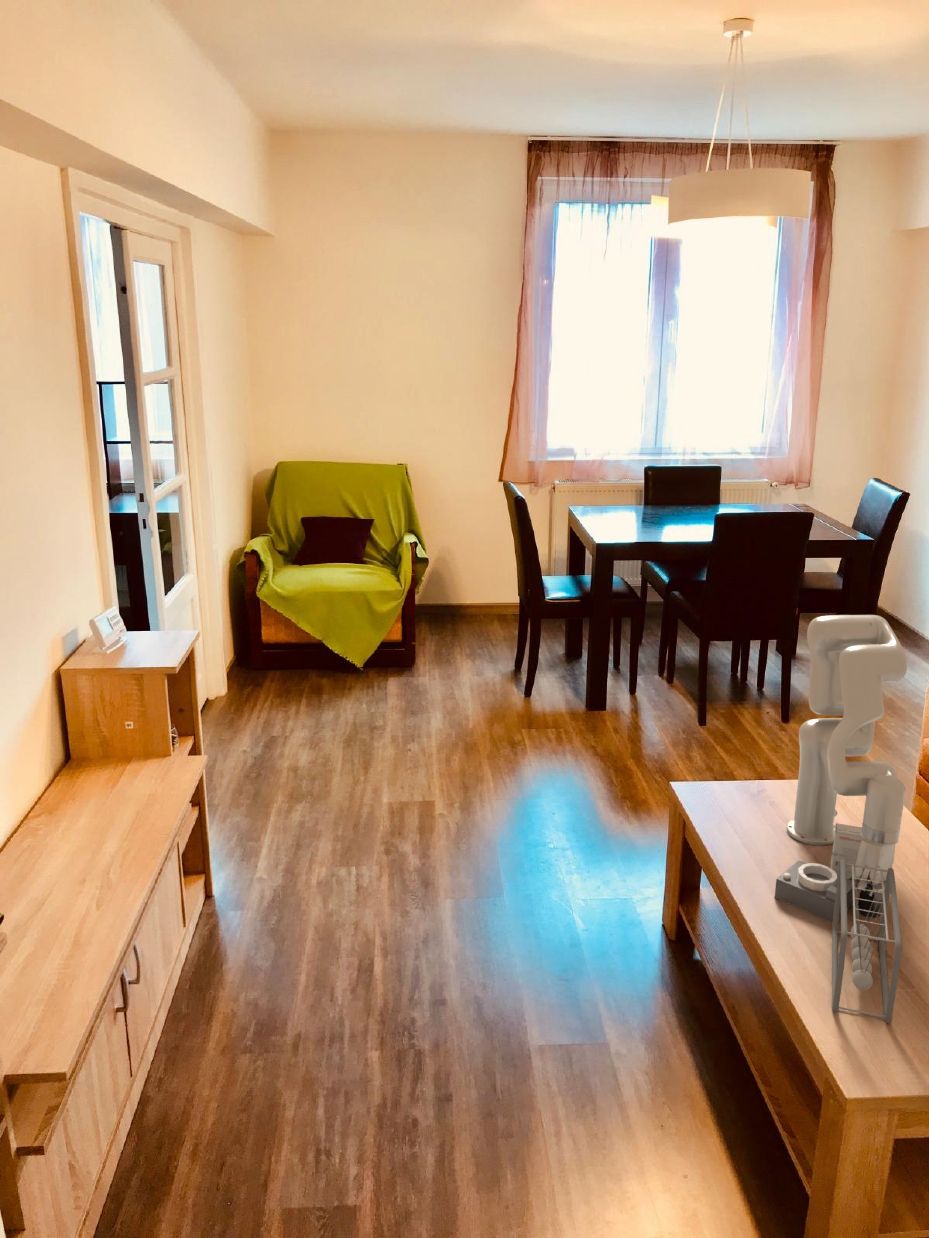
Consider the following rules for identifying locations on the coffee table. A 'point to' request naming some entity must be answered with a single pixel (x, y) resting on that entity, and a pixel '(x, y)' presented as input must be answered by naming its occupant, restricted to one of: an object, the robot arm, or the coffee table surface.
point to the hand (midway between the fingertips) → (870, 902)
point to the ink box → (846, 847)
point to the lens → (875, 901)
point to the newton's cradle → (865, 941)
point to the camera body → (811, 889)
